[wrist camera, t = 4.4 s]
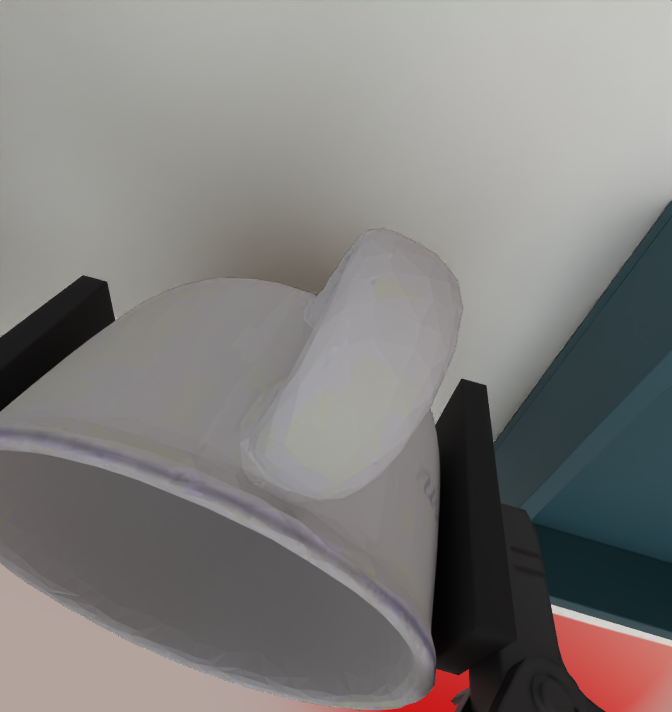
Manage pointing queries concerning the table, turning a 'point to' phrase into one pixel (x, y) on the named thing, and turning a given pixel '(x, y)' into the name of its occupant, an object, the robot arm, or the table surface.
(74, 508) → the teacup
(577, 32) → the table surface
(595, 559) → the tray
